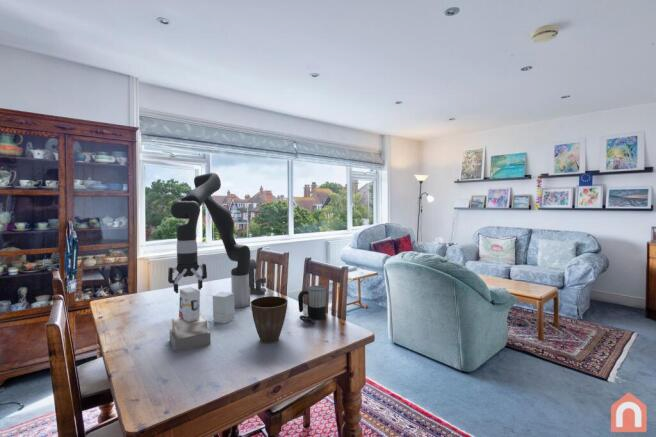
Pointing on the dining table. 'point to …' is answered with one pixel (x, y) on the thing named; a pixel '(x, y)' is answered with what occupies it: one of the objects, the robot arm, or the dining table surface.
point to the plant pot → (269, 317)
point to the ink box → (189, 304)
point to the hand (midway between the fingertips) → (188, 291)
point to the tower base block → (189, 341)
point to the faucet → (258, 282)
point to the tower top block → (189, 327)
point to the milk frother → (313, 304)
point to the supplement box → (223, 307)
